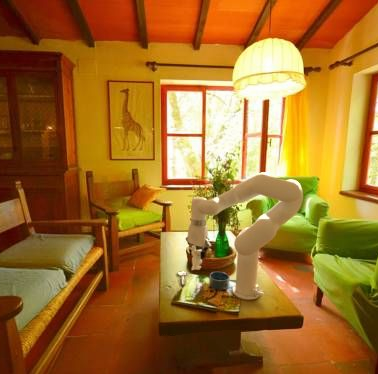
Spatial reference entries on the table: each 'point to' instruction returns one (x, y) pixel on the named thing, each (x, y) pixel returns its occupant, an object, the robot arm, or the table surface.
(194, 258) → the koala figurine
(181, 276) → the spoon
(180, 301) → the table surface
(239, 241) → the robot arm
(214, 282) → the bowl
